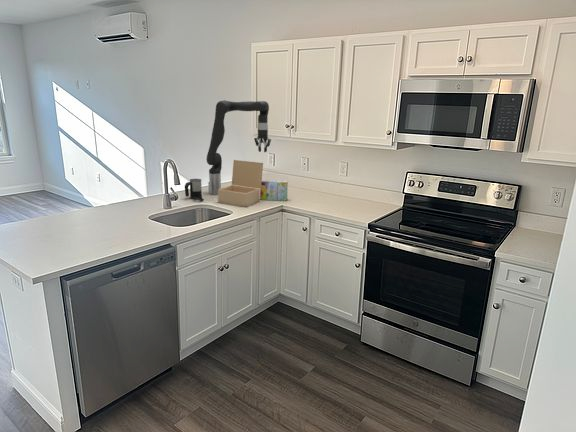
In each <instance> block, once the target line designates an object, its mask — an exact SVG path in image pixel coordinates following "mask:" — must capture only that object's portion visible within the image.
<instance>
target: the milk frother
mask: <svg viewBox="0 0 576 432" xmlns="http://www.w3.org/2000/svg"><path fill="white" fill-rule="evenodd" d="M202 190H203V189H202V179H201V178H190V179H189V181H187V182H186V183H185V184H184V192H185V196H186V197H187V198H188V197H189V196H190V197H189V198H190V199H191V200H198V201H200V202H202V201H204V200H205V199H204V198H203V192H202Z"/></svg>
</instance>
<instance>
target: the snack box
mask: <svg viewBox="0 0 576 432" xmlns="http://www.w3.org/2000/svg"><path fill="white" fill-rule="evenodd" d="M288 182H289V181H288V180H268V179H265V180H264V179H262V182H261V189H260V200H261V201H262V200H264V201H279V202H282V201H283V202H284V201H285V202H286V201H288V190H289V189H288V186H289V184H288Z"/></svg>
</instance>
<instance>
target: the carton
mask: <svg viewBox="0 0 576 432" xmlns="http://www.w3.org/2000/svg"><path fill="white" fill-rule="evenodd" d="M217 202H218V203H219V204H224V205H231V206H235V207H236V206H237V207H245V208H249V207H251V206H253V205H255V204H258V203H260V189H259V188H252V187H245V186H237V185H232V184H231V185H228V186H226V187H221V189H219V190H218V195H217Z"/></svg>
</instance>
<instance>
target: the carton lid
mask: <svg viewBox="0 0 576 432" xmlns="http://www.w3.org/2000/svg"><path fill="white" fill-rule="evenodd" d="M263 167H264V162H256V161H249V160H248V161H247V160H236V159H233V163H232V175H231V177H232V178H231V185H235V186H243V187H250V188H257V189H261V182H262V180H263V170H264V169H263Z"/></svg>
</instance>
